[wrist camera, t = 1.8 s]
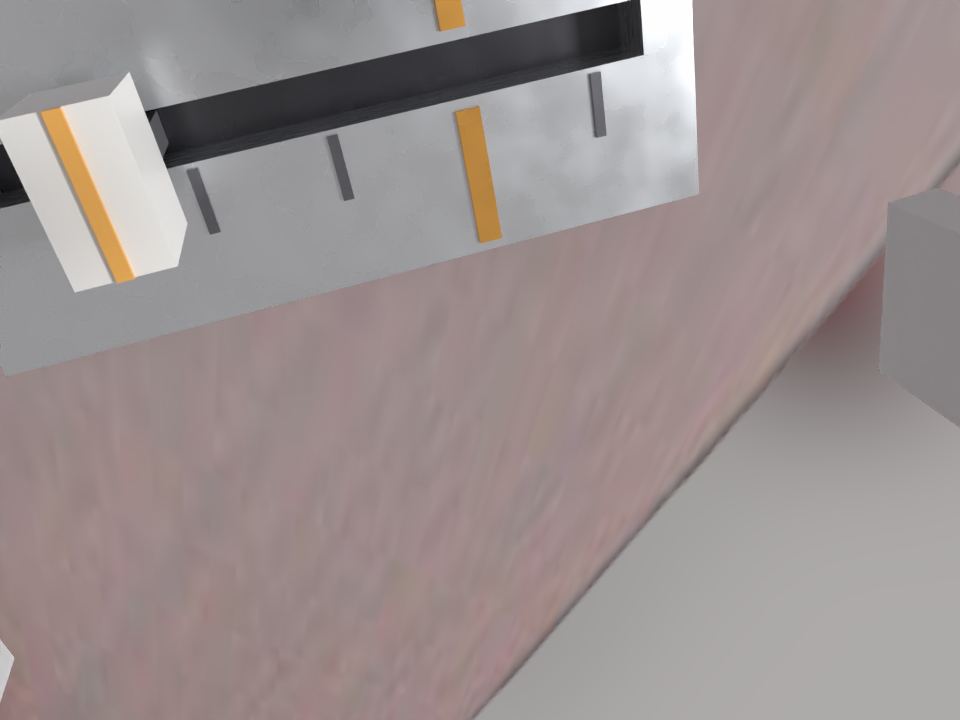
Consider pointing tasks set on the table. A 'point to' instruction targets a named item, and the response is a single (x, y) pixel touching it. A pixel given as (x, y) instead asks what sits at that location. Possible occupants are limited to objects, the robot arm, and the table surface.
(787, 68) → the table surface
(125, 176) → the fader knob
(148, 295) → the console
